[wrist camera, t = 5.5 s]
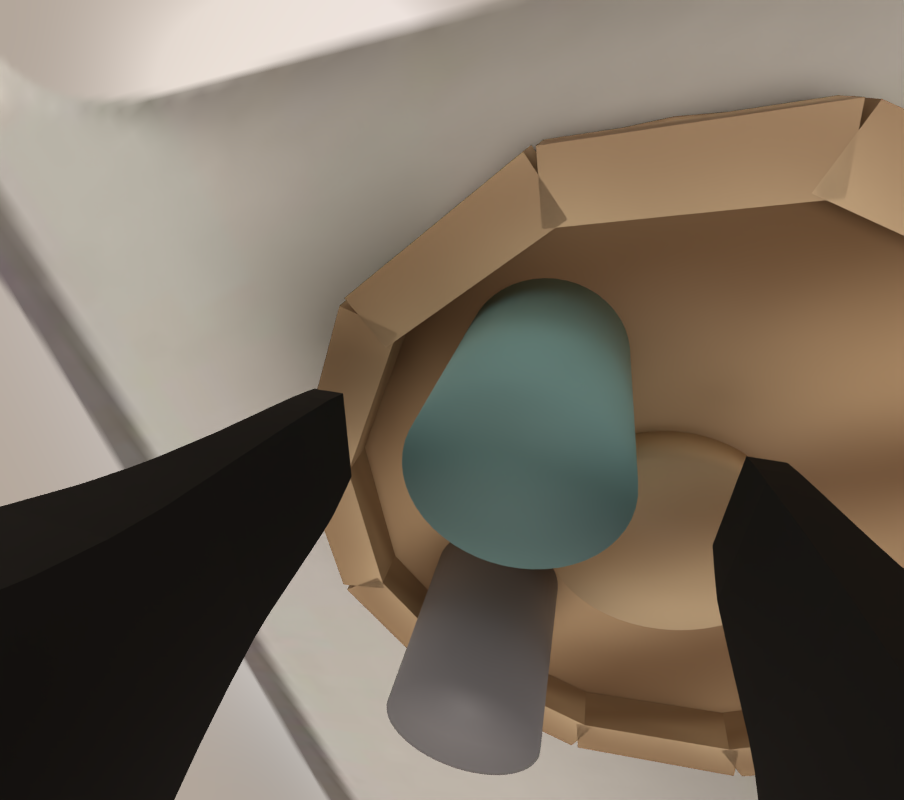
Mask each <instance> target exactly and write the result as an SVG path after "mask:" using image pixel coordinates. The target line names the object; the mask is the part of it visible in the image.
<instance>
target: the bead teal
mask: <svg viewBox="0 0 904 800" xmlns="http://www.w3.org/2000/svg"><path fill="white" fill-rule="evenodd" d="M402 470H403V477H404V481H405V485H406V488H407V490H408V493H409V495H410V498H411V499H412V501H413V503H414V505H415V507H416V508H417V510H418V511H419V512H420V514H421V515H422V516H423V518H424V519H425V520H426V521H427V522H428V523H429V525H430V526H431V527H432V528H433V529H434V530H436V531H437V532H438V533H439V534H440V535H441V536H442V537H444V538H445V539H446V540H448V541H449V542H451V543H452V544H453V545H455V546H457V547H458V548H460V549H462V550H464V551H465V552H467V553H469V554H472V555H474V556H476V557H478V558H481V559H483V560H486V561H489V562H492V563H496V564H499V565H503V566H508V567H514V568H522V569H552V568H560V567H565V566H569V565H573V564H576V563H579V562H582V561H585V560H587V559H589V558H591V557H594V556H596V555H598V554H599V553H601V552H602V551H604V550H605V549H607V548H608V547H609V546H610V545H612V544H613V543H614V542H615V541H616V540H617V539H618V538H619V537H620V536H621V534H622V533H623V532H624V531H625V530H626V528H627V526H628V524H629V523H630V521H631V519H632V517H633V514H634V511H635V509H636V504H637V499H638V471H637V455H636V439H635V423H634V406H633V390H632V374H631V357H630V346H629V339H628V336H627V333H626V329H625V327H624V325H623V323H622V321H621V319H620V318H619V316H618V315H617V313H616V312H615V310H614V309H613V308H612V307H611V306H610V305H609V304H608V303H607V302H606V301H605V300H604V299H603V298H602V297H600V296H599V295H598V294H596V293H595V292H593V291H591V290H590V289H588V288H586V287H584V286H581V285H579V284H576V283H573V282H570V281H566V280H560V279H552V278H540V279H531V280H526V281H521V282H519V283H516V284H513V285H510V286H508V287H507V288H505V289H503V290H501V291H499V292H498V293H497V294H495V295H494V296H492V297H491V298H490V299H489V300H488V301H487V302H486V303H485V304H484V305H483V306H482V308H481V309H480V310H479V312H478V313H477V315H476V316H475V318H474V320H473V322H472V323H471V325H470V327H469V328H468V330H467V332H466V333H465V335H464V337H463V339H462V340H461V342H460V344H459V345H458V347H457V349H456V351H455V352H454V354H453V356H452V357H451V359H450V361H449V363H448V364H447V366H446V368H445V369H444V371H443V373H442V375H441V376H440V378H439V380H438V381H437V383H436V385H435V387H434V388H433V390H432V392H431V393H430V395H429V397H428V399H427V400H426V402H425V404H424V405H423V407H422V409H421V411H420V412H419V414H418V416H417V417H416V419H415V421H414V423H413V424H412V426H411V428H410V429H409V432H408V434H407V437H406V439H405V443H404V447H403V452H402Z"/></svg>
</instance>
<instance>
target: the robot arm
mask: <svg viewBox="0 0 904 800" xmlns="http://www.w3.org/2000/svg"><path fill="white" fill-rule="evenodd" d="M351 477H352V474H351V464H350V455H349V445H348V436H347V426H346V416H345V407H344V397H343V393H338V392H332V391H326V390H319V389H313V390H310V391H307V392H304V393H302V394H299V395H297V396H294V397H292V398H290V399H287V400H285V401H283V402H281V403H279V404H276V405H274V406H272V407H270V408H268V409H266V410H263V411H261V412H259V413H257V414H255V415H253V416H251V417H248V418H246V419H244V420H242V421H240V422H238V423H235V424H233V425H231V426H229V427H227V428H225V429H222V430H220V431H218V432H216V433H214V434H211V435H209V436H206V437H204V438H202V439H199V440H197V441H195V442H192V443H190V444H188V445H185V446H183V447H180V448H178V449H176V450H173V451H171V452H169V453H166V454H164V455H162V456H159V457H156V458H154V459H151V460H149V461H146V462H143V463H141V464H138V465H135V466H133V467H130V468H127V469H124V470H121V471H118V472H116V473H112V474H110V475H107V476H104V477H101V478H98V479H95V480H92V481H89V482H86V483H82V484H80V485H76V486H73V487H69V488H66V489H62V490H58V491H55V492H51V493H48V494H44V495H40V496H37V497H34V498H30V499H26V500H23V501H19V502H16V503H12V504H8V505H5V506H1V507H0V800H174V799H175V797H176V794H177V792H178V790H179V788H180V786H181V784H182V782H183V780H184V777H185V775H186V773H187V771H188V769H189V767H190V764H191V762H192V760H193V758H194V756H195V753H196V752H197V749H198V747H199V745H200V743H201V741H202V739H203V737H204V735H205V733H206V731H207V729H208V727H209V725H210V723H211V721H212V719H213V717H214V715H215V713H216V711H217V709H218V706H219V705H220V703H221V701H222V699H223V697H224V695H225V692H226V691H227V689H228V687H229V685H230V683H231V681H232V679H233V677H234V675H235V673H236V672H237V670H238V667H239V666H240V664H241V662H242V660H243V658H244V657H245V655H246V653H247V651H248V649H249V647H250V645H251V643H252V641H253V640H254V638H255V636H256V634H257V633H258V631H259V629H260V628H261V626H262V624H263V623H264V621H265V619H266V618H267V616H268V615H269V613H270V611H271V610H272V608H273V607H274V605H275V604H276V602H277V601H278V599H279V598H280V596H281V595H282V593H283V592H284V590H285V589H286V587H287V586H288V584H289V583H290V581H291V580H292V578H293V577H294V575H295V574H296V572H297V571H298V569H299V568H300V566H301V565H302V563H303V562H304V560H305V559H306V557H307V556H308V554H309V553H310V551H311V550H312V548H313V547H314V545H315V544H316V542H317V541H318V539H319V538H320V536H321V534H322V533H323V531H324V530H325V528H326V527H327V525H328V524H329V522H330V520H331V519H332V517H333V515H334V513H335V511H336V509H337V507H338V505H339V503H340V501H341V499H342V497H343V494H344V492H345V490H346V488H347V486H348V483H349V481H350V479H351ZM712 547H713V561H714V574H715V585H716V595H717V603H718V607H719V612H720V617H721V621H722V626H723V630H724V635H725V639H726V644H727V648H728V652H729V657H730V661H731V665H732V670H733V674H734V678H735V682H736V687H737V691H738V695H739V700H740V704H741V708H742V713H743V717H744V721H745V726H746V730H747V734H748V739H749V744H750V749H751V755H752V760H753V765H754V771H755V777H756V785H757V793H758V800H904V568H903V567H901V566H900V565H899V564H898V563H897V562H896V561H895V560H894V559H892V558H891V557H890V556H889V555H888V554H887V553H886V552H885V551H884V550H882V549H881V548H880V547H879V546H878V545H877V544H876V543H875V542H874V541H873V540H871V539H870V538H869V537H868V536H867V535H866V534H865V533H864V532H863V531H862V530H861V529H860V528H858V527H857V526H856V525H855V524H854V523H853V522H852V521H851V520H850V519H849V518H848V517H847V516H846V515H844V514H843V513H842V512H841V511H840V510H839V509H838V508H837V507H836V506H835V505H834V504H833V503H832V502H831V501H830V500H828V499H827V498H826V497H825V496H824V495H823V494H822V493H821V492H820V491H819V490H818V489H817V488H816V487H815V486H813V485H812V484H811V483H810V482H809V481H808V480H807V479H806V478H805V477H804V476H803V475H801V474H800V473H799V472H798V471H797V470H796V469H794V468H793V467H792V466H791V465H790V464H788V463H786V462H780V461H774V460H767V459H761V458H754V457H748V456H746V458H745V461H744V464H743V466H742V469H741V471H740V474H739V477H738V479H737V482H736V485H735V487H734V490H733V493H732V495H731V498H730V500H729V503H728V506H727V508H726V511H725V514H724V516H723V519H722V521H721V524H720V527H719V529H718V532H717V535H716V537H715V540H714V542H713V545H712Z"/></svg>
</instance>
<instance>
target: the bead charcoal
mask: <svg viewBox="0 0 904 800" xmlns="http://www.w3.org/2000/svg"><path fill="white" fill-rule="evenodd" d="M557 591H558V581H557V577H556V574H555V571H554V569H553V568H552V569H522V568H514V567H508V566H503V565H499V564H496V563H492V562H489V561H486V560H483V559H481V558H478V557H476V556H474V555H472V554H469V553H467V552H465V551H464V550H462V549H460V548H458V547H457V546H455V545H453V544H452V543H451V542H450V543H449V544H448V545H447V546H446V547H445V548H444V550H443V551H442V553H441V556H440V558H439V561H438V564H437V566H436V569H435V572H434V575H433V577H432V580H431V583H430V586H429V588H428V591H427V594H426V597H425V599H424V602H423V605H422V608H421V610H420V613H419V616H418V619H417V621H416V624H415V627H414V630H413V632H412V635H411V638H410V641H409V643H408V646H407V649H406V652H405V654H404V657H403V660H402V663H401V665H400V668H399V671H398V674H397V676H396V679H395V682H394V685H393V687H392V690H391V693H390V696H389V698H388V702H387V713H388V717H389V719H390V722H391V723H392V725H393V727H394V728H395V729H396V731H397V732H398V733H399V734H400V735H401V736H402V737H403V738H404V739H405V740H406V741H407V742H408V743H409V744H411V745H412V746H413V747H415V748H416V749H417V750H419V751H420V752H422V753H424V754H425V755H427V756H429V757H431V758H433V759H435V760H437V761H439V762H441V763H443V764H446V765H449V766H451V767H454V768H457V769H461V770H464V771H469V772H473V773H479V774H487V775H507V774H513V773H517V772H520V771H523V770H525V769H527V768H529V767H530V766H532V765H533V764H534V763H535V762H536V760H537V759H538V757H539V753H540V747H541V738H542V729H543V720H544V710H545V701H546V692H547V683H548V674H549V664H550V655H551V646H552V637H553V628H554V618H555V609H556V600H557Z"/></svg>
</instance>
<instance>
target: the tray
mask: <svg viewBox="0 0 904 800" xmlns="http://www.w3.org/2000/svg"><path fill="white" fill-rule="evenodd" d="M540 278H552V279H560V280H566V281H570V282H573V283H576V284H579V285H581V286H584V287H586V288H588V289H590V290H591V291H593V292H595V293H596V294H598V295H599V296H600V297H602V298H603V299H604V300H605V301H606V302H607V303H608V304H609V305H610V306H611V307H612V308H613V309H614V310H615V312H616V313H617V315H618V316H619V318H620V319H621V321H622V323H623V325H624V327H625V329H626V333H627V336H628V339H629V346H630V357H631V374H632V390H633V406H634V423H635V439H636V455H637V471H638V499H637V504H636V509H635V511H634V514H633V517H632V519H631V521H630V523H629V524H628V526H627V528H626V530H625V531H624V532H623V533H622V534H621V536H620V537H619V538H618V539H617V540H616V541H615V542H614V543H613V544H612V545H610V546H609V547H608V548H607V549H605V550H604V551H602V552H601V553H599V554H598V555H596V556H594V557H591V558H589V559H587V560H585V561H582V562H579V563H576V564H573V565H569V566H565V567H560V568H553V569H554V571H555V574H556V577H557V581H558V591H557V600H556V609H555V618H554V628H553V637H552V646H551V655H550V664H549V674H548V683H547V692H546V701H545V710H544V720H543V729H542V731H543V732H545V733H547V734H549V735H551V736H553V737H555V738H557V739H560V740H562V741H564V742H566V743H568V744H570V745H572V744H573V743H575V742H576V741H577V740H578V747H579V748H584V749H590V750H595V751H601V752H606V753H612V754H617V755H623V756H628V757H634V758H639V759H645V760H650V761H655V762H661V763H666V764H672V765H677V766H683V767H688V768H694V769H699V770H705V771H710V772H716V773H721V774H727V775H732V776H734V772H735V768H736V769H737V771H738V772H739V773H740V774H741V775H742V776H751V775H755V771H754V765H753V760H752V755H751V749H750V744H749V739H748V734H747V730H746V726H745V721H744V717H743V713H742V708H741V704H740V700H739V695H738V691H737V687H736V682H735V678H734V674H733V670H732V665H731V661H730V657H729V652H728V648H727V644H726V639H725V635H724V630H723V626H722V621H721V617H720V612H719V607H718V603H717V595H716V585H715V574H714V561H713V547H712V545H713V542H714V540H715V537H716V535H717V532H718V529H719V527H720V524H721V521H722V519H723V516H724V514H725V511H726V508H727V506H728V503H729V500H730V498H731V495H732V493H733V490H734V487H735V485H736V482H737V479H738V477H739V474H740V471H741V469H742V466H743V464H744V461H745V458H746V456H748V457H754V458H761V459H767V460H774V461H780V462H786V463H788V464H790V465H791V466H792V467H793V468H794V469H796V470H797V471H798V472H799V473H800V474H801V475H803V476H804V477H805V478H806V479H807V480H808V481H809V482H810V483H811V484H812V485H813V486H815V487H816V488H817V489H818V490H819V491H820V492H821V493H822V494H823V495H824V496H825V497H826V498H827V499H828V500H830V501H831V502H832V503H833V504H834V505H835V506H836V507H837V508H838V509H839V510H840V511H841V512H842V513H843V514H844V515H846V516H847V517H848V518H849V519H850V520H851V521H852V522H853V523H854V524H855V525H856V526H857V527H858V528H860V529H861V530H862V531H863V532H864V533H865V534H866V535H867V536H868V537H869V538H870V539H871V540H873V541H874V542H875V543H876V544H877V545H878V546H879V547H880V548H881V549H882V550H884V551H885V552H886V553H887V554H888V555H889V556H890V557H891V558H892V559H894V560H895V561H896V562H897V563H898V564H899V565H900V566H901V567H903V568H904V109H903V108H901V107H899V106H896V105H894V104H892V103H890V102H888V101H885V100H883V99H874V98H865V97H856V96H840V95H837V96H830V97H824V98H817V99H810V100H804V101H797V102H791V103H784V104H777V105H771V106H764V107H757V108H751V109H744V110H737V111H731V112H721V113H709V114H698V115H686V116H674V117H669V118H665V119H660V120H656V121H651V122H647V123H642V124H638V125H633V126H629V127H624V128H618V129H611V130H605V131H598V132H592V133H585V134H578V135H572V136H565V137H558V138H552V139H545V140H542V141H541V142H540V143H539V144H538V145H536V152H535V150H534V149H533V147H532V146H530V147H528V148H527V149H526V150H524V151H523V152H522V153H521V154H520V155H518V156H517V157H516V158H515V159H513V160H512V161H511V162H510V163H509V164H507V165H506V166H505V167H504V168H502V169H501V170H500V171H499V172H498V173H496V174H495V175H494V176H493V177H491V178H490V179H489V180H488V181H487V182H485V183H484V184H483V185H482V186H481V187H479V188H478V189H477V190H476V191H474V192H473V193H472V194H471V195H470V196H468V197H467V198H466V199H465V200H463V201H462V202H461V203H460V204H459V205H457V206H456V207H455V208H454V209H452V210H451V211H450V212H449V213H448V214H446V215H445V216H444V217H443V218H442V219H440V220H439V221H438V222H437V223H435V224H434V225H433V226H432V227H431V228H429V229H428V230H427V231H426V232H424V233H423V234H422V235H421V236H420V237H418V238H417V239H416V240H415V241H413V242H412V243H411V244H410V245H409V246H407V247H406V248H405V249H404V250H403V251H401V252H400V253H399V254H398V255H396V256H395V257H394V258H393V259H392V260H390V261H389V262H388V263H387V264H385V265H384V266H383V267H382V268H381V269H379V270H378V271H377V272H376V273H374V274H373V275H372V276H371V277H370V278H368V279H367V280H366V281H365V282H364V283H362V284H361V285H360V286H359V287H357V288H356V289H355V290H354V291H353V292H351V293H350V294H349V295H348V296H346V297H345V299H346V301H345V302H344V303H342V304H341V305H340V306H339V310H338V313H337V317H336V321H335V325H334V328H333V332H332V336H331V340H330V343H329V347H328V351H327V355H326V359H325V362H324V366H323V370H322V374H321V377H320V381H319V385H318V389H319V390H326V391H332V392H338V393H343V397H344V407H345V416H346V426H347V436H348V445H349V455H350V464H351V474H352V477H351V479H350V481H349V483H348V486H347V488H346V490H345V492H344V494H343V497H342V499H341V501H340V503H339V505H338V507H337V509H336V511H335V513H334V515H333V517H332V519H331V520H330V522H329V524H328V525H327V527H326V528H325V530H324V531H325V533H326V536H327V539H328V542H329V545H330V547H331V550H332V553H333V556H334V558H335V561H336V564H337V567H338V570H339V572H340V575H341V578H342V581H343V584H345V585H349V587H348V589H347V590H348V591H349V592H350V593H351V594H352V595H353V596H354V597H355V598H356V599H357V600H358V601H359V602H360V603H361V604H362V605H363V606H364V607H366V608H367V609H368V610H369V611H370V612H371V613H372V614H373V615H374V616H375V617H376V618H377V619H378V620H379V621H380V622H381V623H382V624H383V625H384V626H385V627H386V628H387V629H388V630H389V631H390V632H391V633H392V634H393V635H394V636H395V637H396V638H397V639H398V640H399V641H400V642H401V643H402V644H403V645H404V646H405V647H406V648H407V646H408V643H409V641H410V638H411V635H412V632H413V630H414V627H415V624H416V621H417V619H418V616H419V613H420V610H421V608H422V605H423V602H424V599H425V597H426V594H427V591H428V588H429V586H430V583H431V580H432V577H433V575H434V572H435V569H436V566H437V564H438V561H439V558H440V556H441V553H442V551H443V550H444V548H445V547H446V546H447V545H448V544H449V543H450V542H449V541H448V540H446V539H445V538H444V537H442V536H441V535H440V534H439V533H438V532H437V531H436V530H434V529H433V528H432V527H431V526H430V525H429V523H428V522H427V521H426V520H425V519H424V518H423V516H422V515H421V514H420V512H419V511H418V510H417V508H416V507H415V505H414V503H413V501H412V499H411V498H410V495H409V493H408V490H407V488H406V485H405V481H404V477H403V470H402V452H403V447H404V443H405V439H406V437H407V434H408V432H409V429H410V428H411V426H412V424H413V423H414V421H415V419H416V417H417V416H418V414H419V412H420V411H421V409H422V407H423V405H424V404H425V402H426V400H427V399H428V397H429V395H430V393H431V392H432V390H433V388H434V387H435V385H436V383H437V381H438V380H439V378H440V376H441V375H442V373H443V371H444V369H445V368H446V366H447V364H448V363H449V361H450V359H451V357H452V356H453V354H454V352H455V351H456V349H457V347H458V345H459V344H460V342H461V340H462V339H463V337H464V335H465V333H466V332H467V330H468V328H469V327H470V325H471V323H472V322H473V320H474V318H475V316H476V315H477V313H478V312H479V310H480V309H481V308H482V306H483V305H484V304H485V303H486V302H487V301H488V300H489V299H490V298H491V297H492V296H494V295H495V294H497V293H498V292H499V291H501V290H503V289H505V288H507V287H508V286H510V285H513V284H516V283H519V282H521V281H526V280H531V279H540Z"/></svg>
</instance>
